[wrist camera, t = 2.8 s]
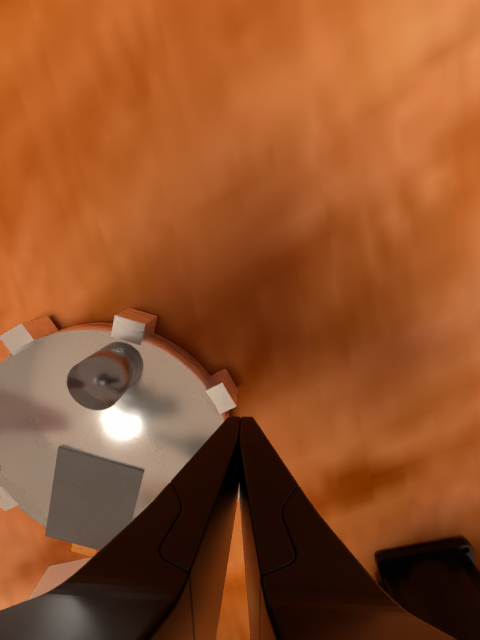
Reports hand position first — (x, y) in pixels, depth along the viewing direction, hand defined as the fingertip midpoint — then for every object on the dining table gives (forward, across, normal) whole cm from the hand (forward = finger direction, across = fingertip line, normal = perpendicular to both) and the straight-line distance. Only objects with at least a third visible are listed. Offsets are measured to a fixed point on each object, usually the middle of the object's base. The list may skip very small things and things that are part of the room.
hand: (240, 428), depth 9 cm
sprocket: (+7, +8, +6) cm, 12 cm away
